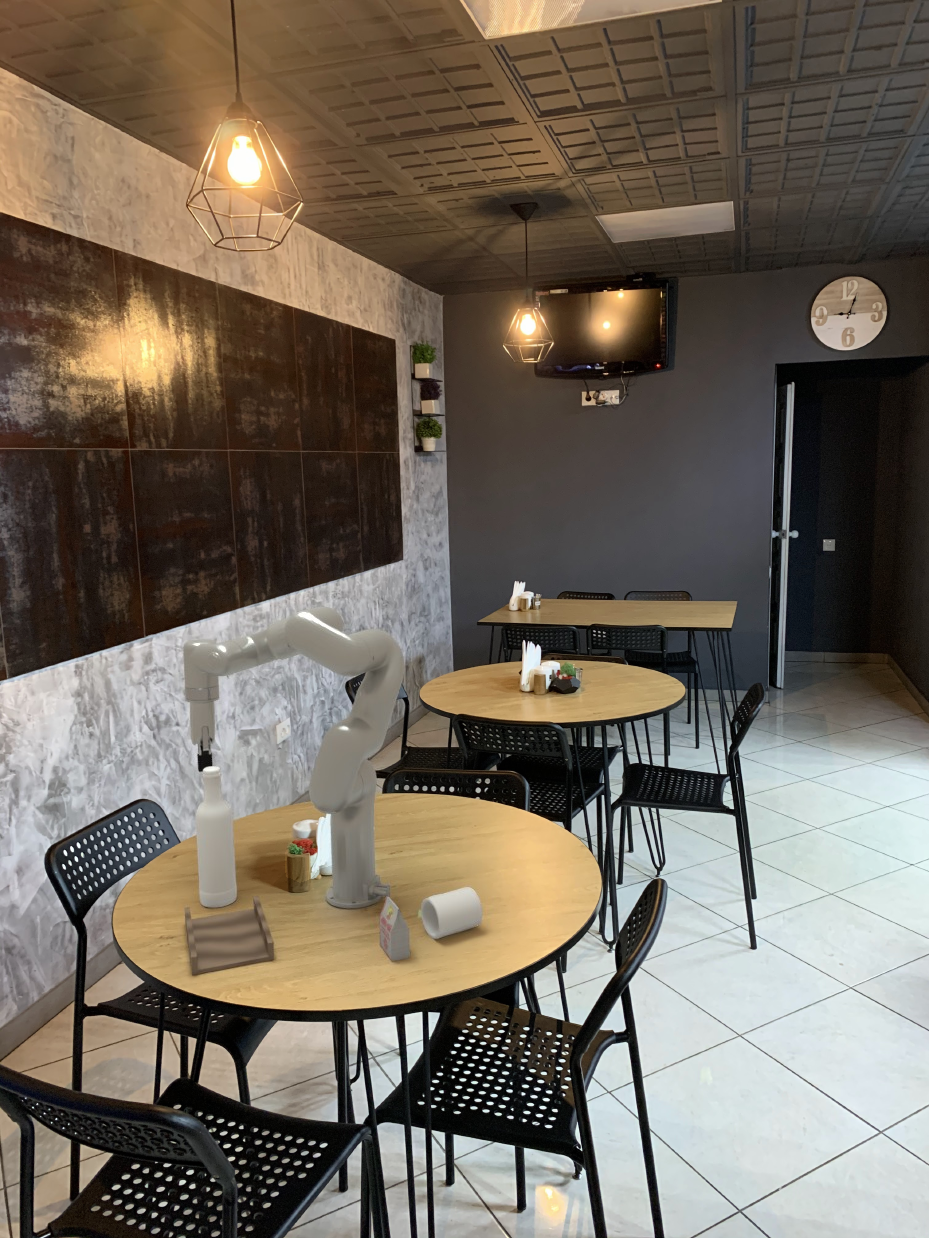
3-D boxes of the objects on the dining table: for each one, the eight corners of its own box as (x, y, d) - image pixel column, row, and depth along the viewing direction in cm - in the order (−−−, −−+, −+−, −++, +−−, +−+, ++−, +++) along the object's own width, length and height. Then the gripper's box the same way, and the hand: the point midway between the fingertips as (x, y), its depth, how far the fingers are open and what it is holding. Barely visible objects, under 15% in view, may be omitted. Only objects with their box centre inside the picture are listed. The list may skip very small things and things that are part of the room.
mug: (483, 932, 178) (482, 894, 177) (440, 945, 172) (439, 907, 171) (452, 910, 188) (452, 874, 187) (411, 922, 182) (410, 885, 182)
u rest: (185, 923, 183) (184, 907, 183) (258, 911, 188) (257, 895, 188) (192, 975, 163) (191, 957, 162) (274, 959, 168) (273, 942, 168)
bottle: (242, 892, 198) (235, 763, 194) (229, 908, 190) (222, 773, 186) (208, 892, 198) (200, 762, 195) (194, 907, 191) (186, 773, 187)
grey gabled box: (397, 941, 174) (396, 893, 173) (409, 957, 168) (408, 907, 167) (379, 946, 173) (378, 897, 171) (391, 961, 167) (390, 911, 165)
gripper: (183, 688, 208) (186, 763, 211) (187, 701, 194) (190, 781, 197) (216, 685, 211) (218, 760, 213) (222, 698, 197) (225, 777, 199)
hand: (205, 770), depth 205 cm, fingers closed
